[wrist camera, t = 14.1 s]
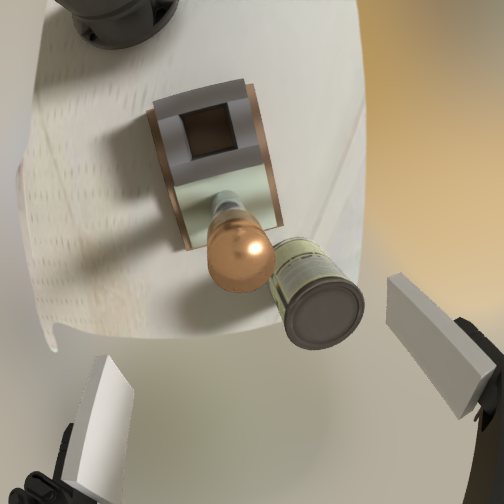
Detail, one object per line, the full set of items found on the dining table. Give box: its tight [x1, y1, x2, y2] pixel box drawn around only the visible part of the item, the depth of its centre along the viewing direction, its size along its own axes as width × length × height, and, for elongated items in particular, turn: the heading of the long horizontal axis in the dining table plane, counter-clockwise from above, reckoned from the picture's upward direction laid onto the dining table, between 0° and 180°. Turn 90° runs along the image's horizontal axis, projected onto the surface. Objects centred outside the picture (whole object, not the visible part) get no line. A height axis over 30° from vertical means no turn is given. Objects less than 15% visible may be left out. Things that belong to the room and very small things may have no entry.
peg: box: [207, 190, 276, 293], centre depth 31 cm, size 5×5×18 cm
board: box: [146, 79, 284, 251], centre depth 35 cm, size 20×14×8 cm
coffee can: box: [267, 237, 365, 350], centre depth 40 cm, size 10×10×14 cm
